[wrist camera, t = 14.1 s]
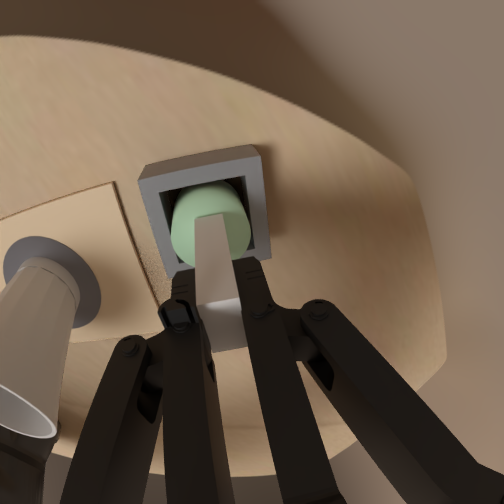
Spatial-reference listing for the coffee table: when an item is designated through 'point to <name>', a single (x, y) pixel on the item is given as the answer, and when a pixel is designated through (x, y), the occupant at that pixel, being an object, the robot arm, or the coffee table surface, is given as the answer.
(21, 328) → the cup
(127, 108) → the coffee table surface
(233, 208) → the button
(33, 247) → the sheet
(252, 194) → the button housing
